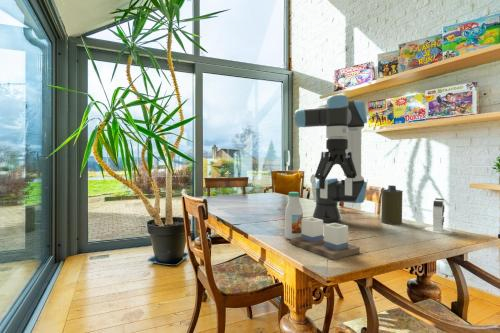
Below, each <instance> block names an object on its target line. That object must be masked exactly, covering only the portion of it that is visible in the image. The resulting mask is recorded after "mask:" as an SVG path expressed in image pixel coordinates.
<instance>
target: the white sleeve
mask: <svg viewBox="0 0 500 333" xmlns="http://www.w3.org/2000/svg"><path fill="white" fill-rule="evenodd" d="M323 236H324V246H325V247H328V248H331V249H334V250H341V249H344V248H348V244H349V225H346V224H341V223H338V222H330V223H326V224H323Z"/></svg>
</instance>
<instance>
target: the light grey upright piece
mask: <svg viewBox="0 0 500 333" xmlns="http://www.w3.org/2000/svg"><path fill="white" fill-rule="evenodd" d="M444 200H445V199H444V198H438V197H435V199H434V200H433V204H432V205H433V208H432V219H433V220H432V222H433V223H432V226H426V227H424V229H423V230H424V231H426V232H429V233H434V234H441V235H442V234H444V235H447V234H448V235H449V234H452V233H453V230H451V229H448V228H444V223H445V216H444V214H445V204H444V203H445V202H444Z"/></svg>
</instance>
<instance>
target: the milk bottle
mask: <svg viewBox="0 0 500 333" xmlns="http://www.w3.org/2000/svg"><path fill="white" fill-rule="evenodd" d="M299 199H300V192H298V191H289V192H288V202H287V205H286V206H285V211H284V214H285V215H284V237H285V239H287V240H291V239H293V238H298V237H302V219H304V218H303V217H304V213H303V207H302V205H301V202H300V200H299Z"/></svg>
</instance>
